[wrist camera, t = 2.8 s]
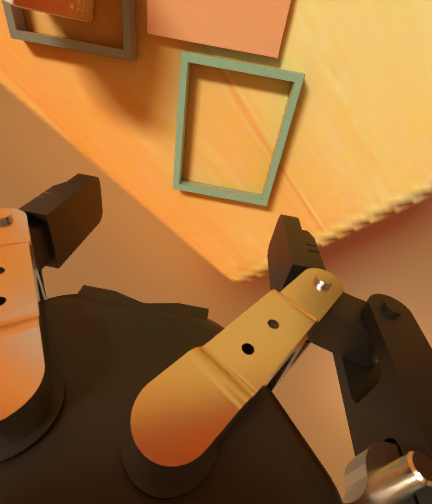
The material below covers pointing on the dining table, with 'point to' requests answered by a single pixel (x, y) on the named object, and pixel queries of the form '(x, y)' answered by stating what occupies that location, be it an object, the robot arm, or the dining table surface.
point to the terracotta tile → (222, 23)
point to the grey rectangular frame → (129, 40)
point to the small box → (59, 8)
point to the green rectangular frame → (184, 76)
